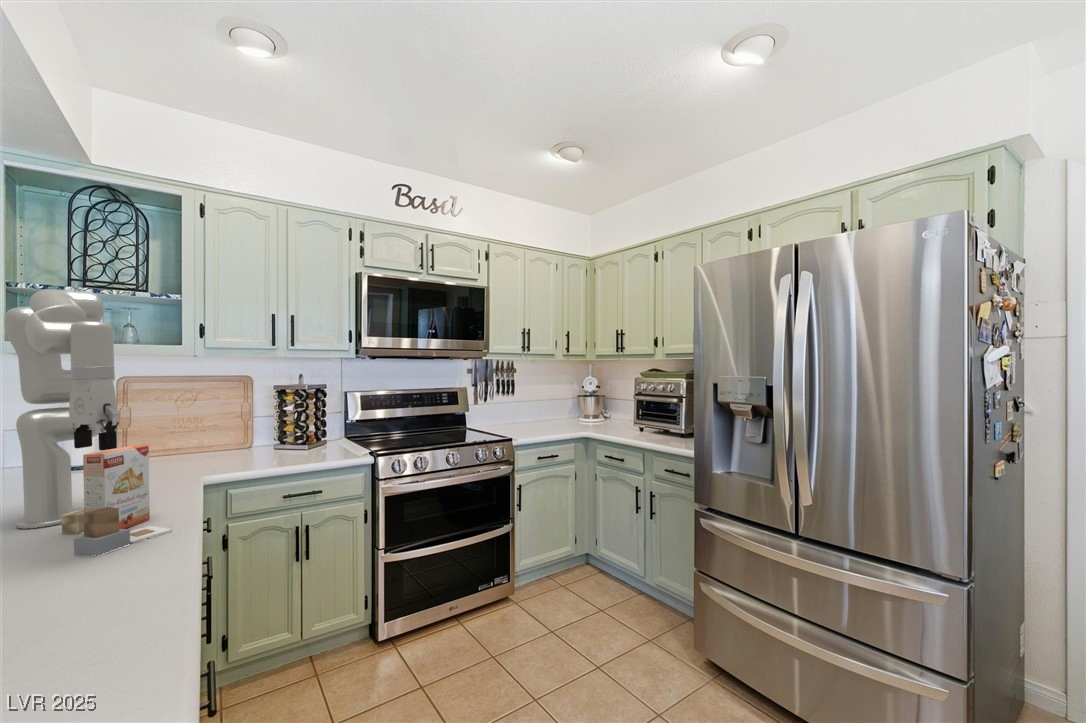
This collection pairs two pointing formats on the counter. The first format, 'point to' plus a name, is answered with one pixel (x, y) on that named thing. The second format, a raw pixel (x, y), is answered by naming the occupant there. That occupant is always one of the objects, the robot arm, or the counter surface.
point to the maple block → (73, 522)
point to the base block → (101, 543)
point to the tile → (147, 533)
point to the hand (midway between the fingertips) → (95, 448)
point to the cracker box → (118, 482)
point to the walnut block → (101, 522)
